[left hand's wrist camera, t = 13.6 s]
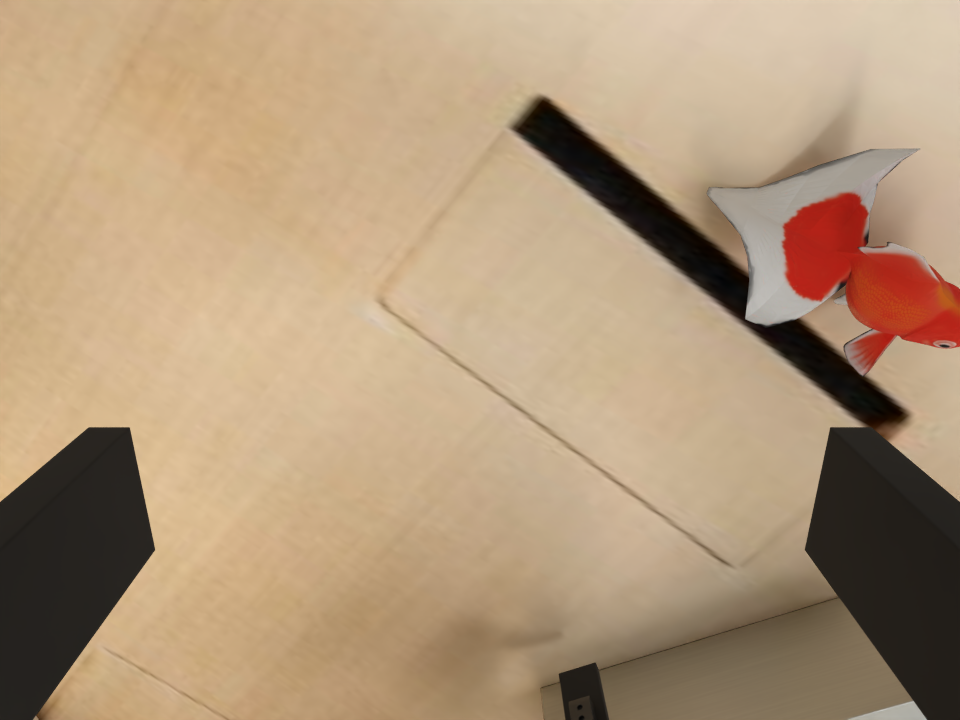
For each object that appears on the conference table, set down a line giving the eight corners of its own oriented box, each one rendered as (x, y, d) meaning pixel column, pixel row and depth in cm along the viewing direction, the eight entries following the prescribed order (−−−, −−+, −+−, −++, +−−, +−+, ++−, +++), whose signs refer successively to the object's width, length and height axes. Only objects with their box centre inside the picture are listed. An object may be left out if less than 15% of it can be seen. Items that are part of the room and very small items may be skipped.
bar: (851, 593, 50) (928, 696, 41) (864, 643, 51) (940, 752, 43) (540, 687, 53) (551, 801, 44) (561, 731, 55) (577, 849, 46)
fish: (832, 447, 40) (934, 434, 30) (643, 262, 43) (680, 193, 33) (957, 327, 41) (1096, 275, 31) (764, 153, 44) (836, 55, 34)
